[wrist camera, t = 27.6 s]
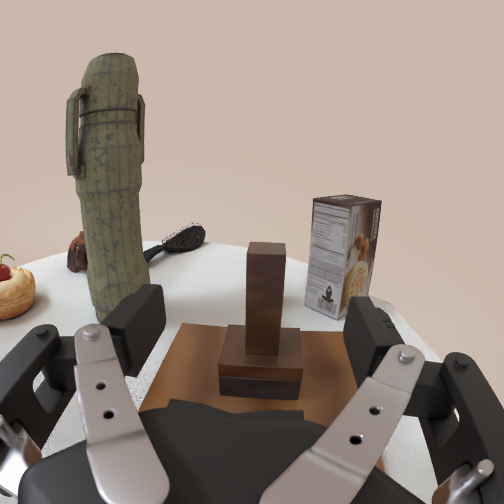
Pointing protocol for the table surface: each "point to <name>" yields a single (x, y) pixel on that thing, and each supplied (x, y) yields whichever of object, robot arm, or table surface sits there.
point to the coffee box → (341, 252)
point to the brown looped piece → (77, 254)
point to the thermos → (109, 176)
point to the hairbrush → (179, 242)
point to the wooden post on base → (262, 335)
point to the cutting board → (207, 392)
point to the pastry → (15, 290)
